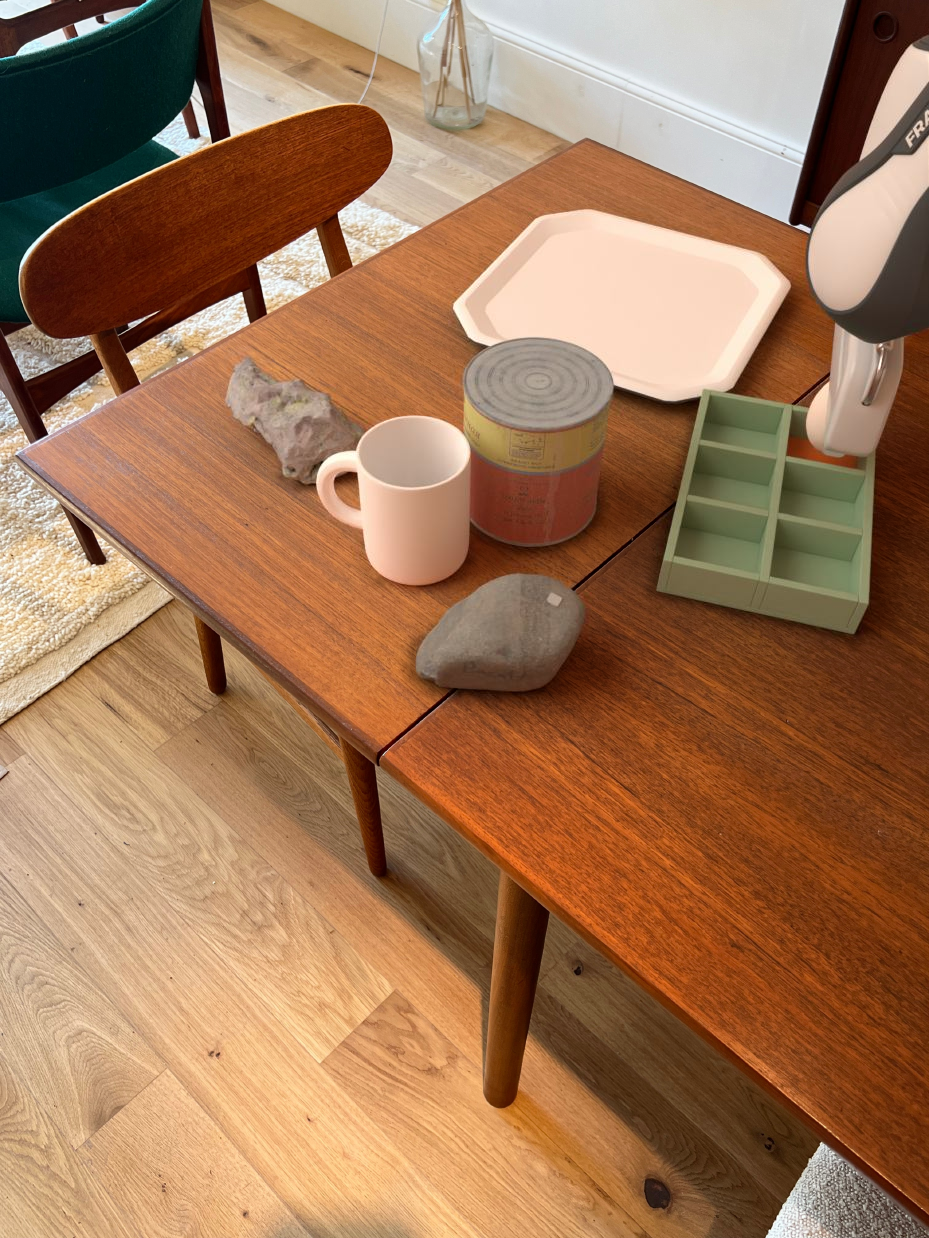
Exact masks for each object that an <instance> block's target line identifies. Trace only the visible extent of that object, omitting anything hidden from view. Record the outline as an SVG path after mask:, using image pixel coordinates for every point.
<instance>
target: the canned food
mask: <svg viewBox="0 0 929 1238" xmlns="http://www.w3.org/2000/svg"><path fill="white" fill-rule="evenodd" d="M462 388H463V435H464V436H465V437H466V439H467V441H468V443H469V446H470V451H471V465H470V523H471V524H472V525H473V526H474V527H475V528H476V529H477V530H478V531H480V532H481V533H483V534H484V535H486V536H488V537H489V538H491V539H493V540H496V541H498V542H501V543H504V544H508V545H511V546H512V545H513V546H517V547H527V548H534V547H535V548H536V547H537V548H539V547H547V546H552V545H557V544H561V543H563V542H566V541H568V540H571V539H572V538H574V537H576V536H577V535H579V534H581V532H583V531H584V530H585V529H586V528H587V527H588V526H589V524H590V523H591V522H592V520H593V518H594V516H595V513H596V510H597V496H598V489H599V482H600V476H601V468H602V461H603V457H604V456H603V454H604V450H605V449H604V448H605V442H606V434H607V428H608V421H609V413H610V407H611V401H612V398H613V395H614V389H615V388H614V382H613V378H612V375H611V373H610V371H609V369H608V368H607V366H606V365H605V364H604V363H603V362H602V361H601V360H600V359H599V358H598V357H597V356H595V355H594V354H593V353H591V352H589V351H588V350H586V349H584V348H582V347H580V346H577V345H575V344H572V343H569V342H565V341H561V340H557V339H551V338H539V337H528V338H517V339H512V340H507V341H503V342H500V343H497V344H494V345H492V346H490V347H488V348H485V349H482V350H481V351H480V352H478V353H477V354H475V356H473V357H472V358H471V360H470V361H469V362H468V364H467V365H466V366H465V369H464V371H463V375H462Z"/></svg>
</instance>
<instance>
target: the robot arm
mask: <svg viewBox="0 0 929 1238" xmlns="http://www.w3.org/2000/svg"><path fill="white" fill-rule="evenodd" d="M865 138H866V139H865V141H864V145H863V147H862V151H861V154H860V157H859V161H858V162H857V163H855V164H854V165H853V166H851V167H850V168H849V169H848V170H847V171H846V172H844V174H842V176H841V177H840V178H839V179H838V181H837V182H836V183H835V184H834V185H833V187H832V188H831V190H830V191H829V193H827V195H826V197H825V199H824V201H823V202H822V204H821V206H820V208H819V210H818V212H817V213H816V216H815V218H814V220H813V223H812V225H811V228H810V231H809V234H808V238H807V242H806V247H805V257H804V258H805V259H804V260H805V261H804V263H805V265H804V266H805V274H806V280H807V284H808V288H809V290H810V292H811V295H812V297H813V298H814V300H815V302H816V303H817V305H818V306H819V307H820V308H821V310H822V311H823V312H824V313H825V314H826V316H828V317H829V318H830V320H831V321H833V322H834V331H833V333H834V334H833V342H832V353H831V362H830V371H829V372H830V373H829V381H830V382H829V381H828V382H829V392H828V402H827V412H826V421H825V431H824V440H823V448H822V452H823V454H825V455H828V456H833V457H838V458H839V457H843V456H844V455H845V454H847V455H852V456H858V457H868V456H870V455H871V454H872V453H873V452H874V451H875V449H876V450H877V447H878V445H879V443H880V440H881V438H882V434H883V432H884V428H885V426H886V424H887V423H886V422H887V421H888V419H889V416H890V412H891V409H892V407H893V404H894V401H895V398H896V395H897V391H898V388H899V385H900V381H901V377H902V373H903V368H904V352H905V351H904V348H905V338H907V337H909V336H911V335H914V334H919V333H921V332H924V331H926V330H928V329H929V34H926V35H925V36H922V37H921V38H919V39H918V40H915V41H914V42H912V43H911V44H910V45H909V46H908V47H907V48H906V49H905V51H904V53H903V54H902V55H901V56H900V58H899V60H898V61H897V64H896V65H895V67H894V68H893V70H892V72H891V74H890V76H889V78H888V80H887V83H886V85H885V87H884V90H883V92H882V93H881V96H880V99H879V101H878V104H877V107H876V109H875V112H874V114H873V118H872V120H871V123H870V126H869V129H868V133H867V134H866V137H865Z"/></svg>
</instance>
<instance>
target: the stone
mask: <svg viewBox="0 0 929 1238" xmlns="http://www.w3.org/2000/svg"><path fill="white" fill-rule="evenodd" d="M585 619H586V606H585V604H584V602H583V600H582V599H581V597H580V596H579V595H578V594H577V593H576V592H575V591H574V590H573V589H572V588H571V587H569V586H568V585H566V584H565V583H563V582H561V581H560V580H558V579H556V578H555V577H551V576H548V575H545V574H536V573H535V574H525V573H520V572H517V573H510V574H505V575H502V576H499V577H497V578H494V579H492V580H489V581H487V582H486V583H484V584H482V585H481V586H479V587H478V588H476V590H474V591H473V592H471V593H470V594H469V595H468V596H466V597H465V598H463V599H460V600H459V601H458V602H456V603H454V604H453V605H452V606H450V607H449V608H448V609H447V610H446V611H445V612H444V614H443V615H442V617H441V618H440V619H439V621H438V623H436V624H435V626H433V628H432V629H431V630H430V631H429V632H428V633H427V635H426V636H425V637H424V639H423V640H422V642H421V644H420V646H419V647H418V650H417V653H416V657H415V670H416V671H415V672H416V674H417V675H418V676H419V677H420V678H421V679H423V680H425V681H428V682H429V681H430V682H433V683H435V685H437V686H438V687H441V688H449V689H450V688H451V689H463V690H483V691H484V690H485V691H487V690H488V691H494V692H495V691H496V692H527V691H531V690H532V691H533V690H537V689H540V688H543V687H544V686H546V685H548V684H549V683H550V682H551V681H552V680H553V679H554V677H555V676H556V675H557V673H558V672H559V670H560V669H561V667H562V666H563V664H564V663H565V661H566V660H567V658H568V657H569V655H570V653H571V652H572V651H573V648H574V646H575V645H576V642H577V641H578V638H579V637H580V634H581V631H582V629H583V626H584V623H585Z"/></svg>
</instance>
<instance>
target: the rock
mask: <svg viewBox="0 0 929 1238" xmlns="http://www.w3.org/2000/svg"><path fill="white" fill-rule="evenodd" d="M224 404H225V405H226V406H227V407H228V408H229V409H231V412H232V417H233V418H234V419H235V420H238V421H239V422H241V424H242V425H243V426H246V427H247V426H248V427H250V428H251V429H252V430H253V431H254V433H257V434H261V436H262V437H263V439H264V440H265V441H266V443H267V444H268V445H269V446H272V448H273V449H274V452H275V453H276V455H277V457H278V460H279V461H280V462H281V464H282V475H283V476H284V477H285V478H286V479H289V480H295V481H299V482H301V484H304V485H306V486H307V485H310V484H316V481H317V474H318V471H319V468H320V467H321V465H322V464H323V463H324V462H325V461H326V460H327V459H328V458H329V457H331V456H332V455H334V454H337V453H340V452H345V451H356V449H357V446H358V443H359V441H360V439H361V438H362V436H363V435H364V434H365V433H366V432H367V430H365V429H364V427H363V426H361V425H360V424H359V423H357V422H354V421H352V420H351V419H350V418H349V417H347V415H346V414H345V412H344V410H343V408H340V407H337V406H336V405H335V403H334V402H333V401H332V396H331V393H329V392H317V391H315V390H313V389H311V388H310V387H309V386H307V384H306V383H305V381H304V380H303V379H301V378H294V379H293V380H290V381H287V380H286V381H280V380H277V379H276V378H274V377H273V376H272V374H267V373H265V372H263V370H262V369H261V368H260V367H258V365H257V364H256V363H255V361H254V360H253V359H252V358H251V357H250V356H249V355H246V356H245V357H244V358H243V360H242V361H241V362H240V363H237V364H235V365H234V368H233V372H232V374H231V377H230V379H229V382H228V387H227V390H226V395H225V399H224ZM348 472H349V471H344V472H340V473H338V474H337V475H336V476H335V478H338V477H340V476H344V475H345V474H347V473H348Z"/></svg>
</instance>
